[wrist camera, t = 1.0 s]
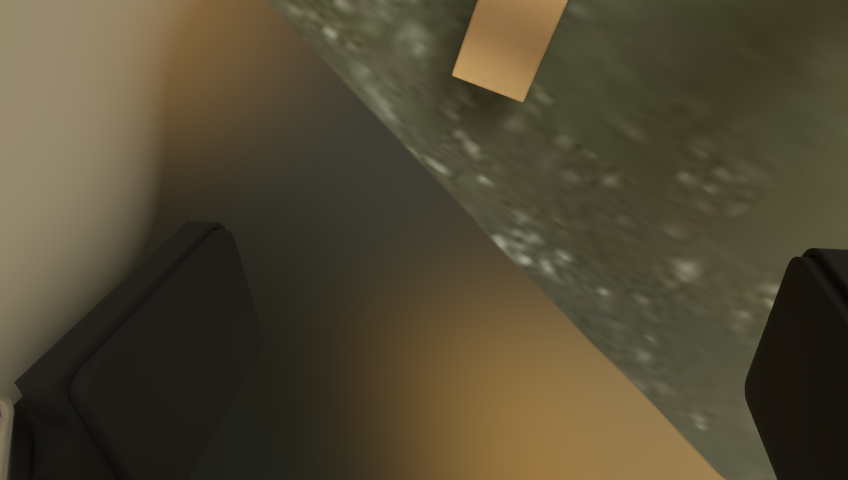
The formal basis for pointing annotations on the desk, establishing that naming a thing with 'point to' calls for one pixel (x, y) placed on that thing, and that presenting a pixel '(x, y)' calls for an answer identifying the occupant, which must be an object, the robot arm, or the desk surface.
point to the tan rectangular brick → (507, 44)
